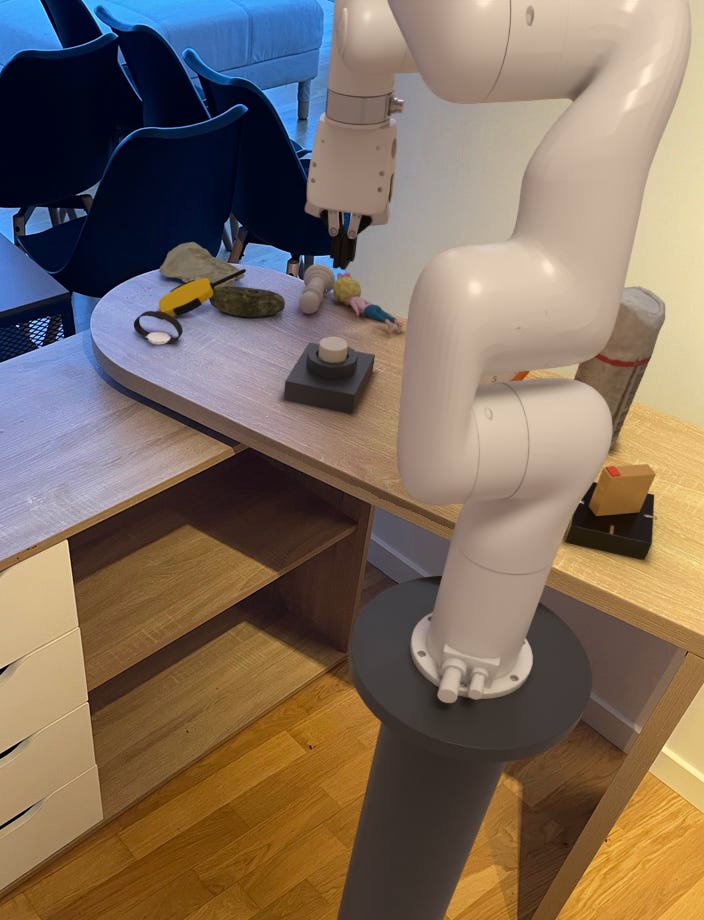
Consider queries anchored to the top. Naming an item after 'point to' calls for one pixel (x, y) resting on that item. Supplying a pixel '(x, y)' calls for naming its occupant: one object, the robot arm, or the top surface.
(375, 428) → the top surface
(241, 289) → the decorative stone
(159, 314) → the watch
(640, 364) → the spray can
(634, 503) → the knob
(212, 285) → the walkie talkie
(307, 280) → the chess piece
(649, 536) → the panel
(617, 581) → the top surface
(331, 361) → the white push button
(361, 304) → the figurine
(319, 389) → the dark grey button base
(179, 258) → the stone
